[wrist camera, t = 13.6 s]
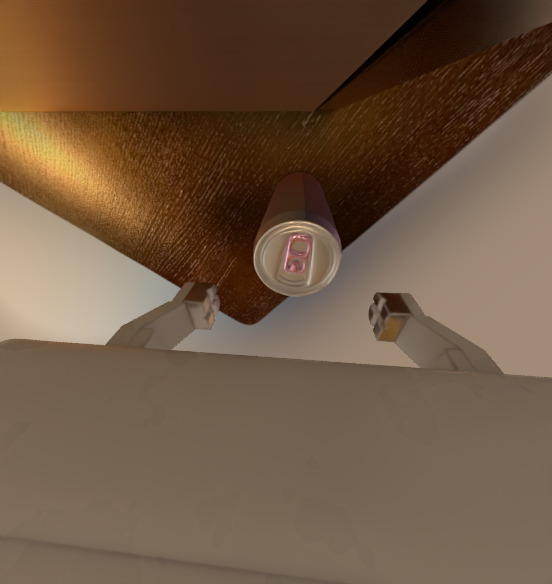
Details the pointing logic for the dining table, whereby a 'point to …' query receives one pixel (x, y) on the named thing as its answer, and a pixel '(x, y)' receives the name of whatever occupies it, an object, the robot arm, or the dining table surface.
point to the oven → (186, 52)
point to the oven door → (438, 42)
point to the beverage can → (297, 238)
